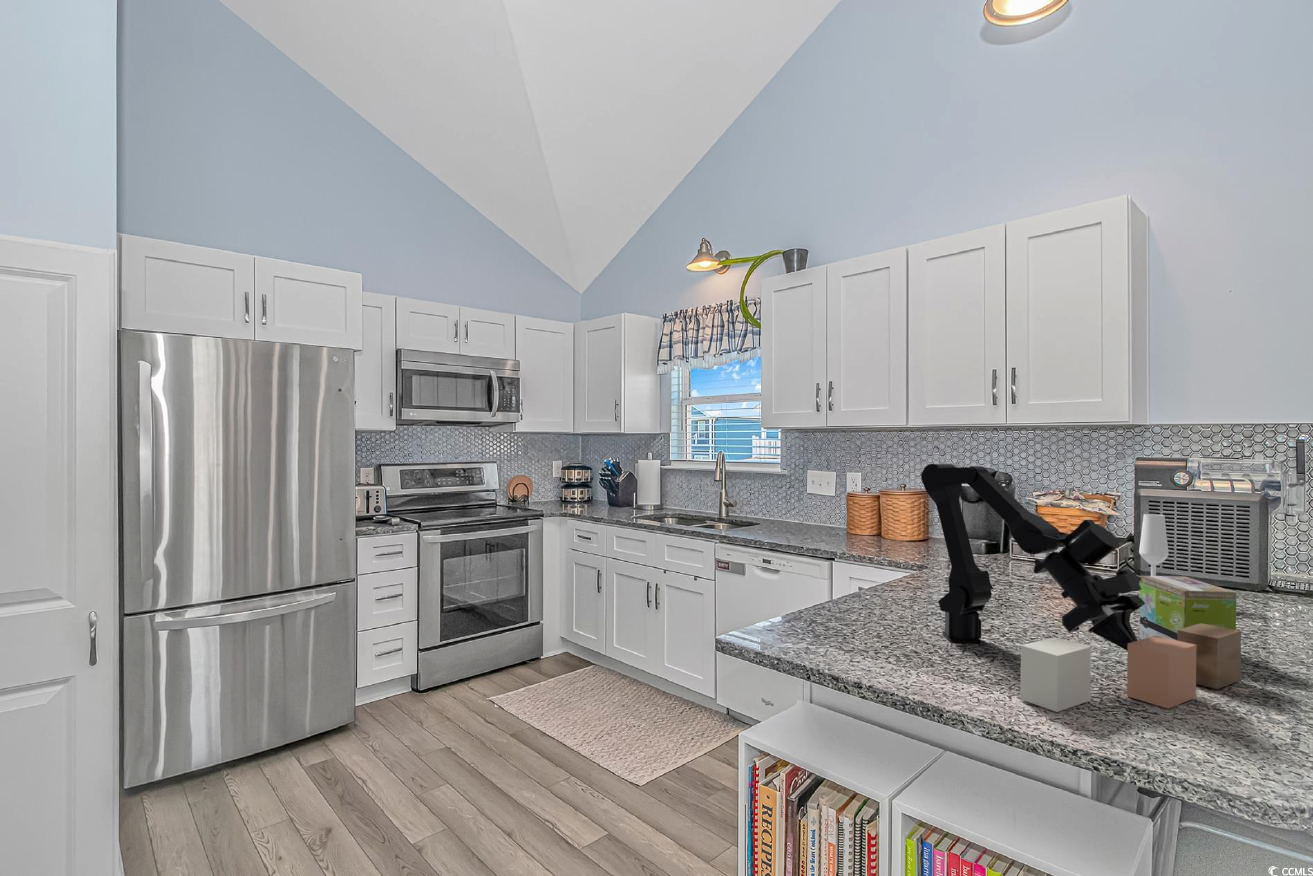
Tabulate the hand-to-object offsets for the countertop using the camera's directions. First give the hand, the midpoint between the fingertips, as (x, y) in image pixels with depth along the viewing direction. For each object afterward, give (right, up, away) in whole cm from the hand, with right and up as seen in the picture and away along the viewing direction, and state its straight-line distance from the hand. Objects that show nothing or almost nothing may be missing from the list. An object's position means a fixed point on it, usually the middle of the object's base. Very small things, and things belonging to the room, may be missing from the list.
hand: (1140, 654), depth 115 cm
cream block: (-18, -6, -5) cm, 20 cm away
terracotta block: (+2, -7, -3) cm, 7 cm away
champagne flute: (+57, -8, +72) cm, 92 cm away
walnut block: (+17, -7, +6) cm, 19 cm away
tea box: (+27, -7, +24) cm, 37 cm away
